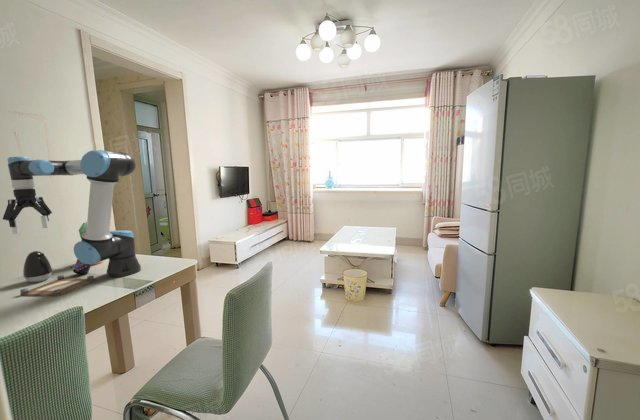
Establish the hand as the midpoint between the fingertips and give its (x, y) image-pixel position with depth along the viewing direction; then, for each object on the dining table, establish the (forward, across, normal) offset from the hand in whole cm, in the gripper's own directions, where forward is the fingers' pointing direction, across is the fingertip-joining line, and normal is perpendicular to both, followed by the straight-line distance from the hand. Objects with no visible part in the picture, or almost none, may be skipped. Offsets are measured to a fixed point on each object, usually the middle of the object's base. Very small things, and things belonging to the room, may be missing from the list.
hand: (31, 230), depth 140 cm
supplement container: (+26, -7, +18) cm, 32 cm away
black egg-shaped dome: (+25, +3, +3) cm, 26 cm away
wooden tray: (+26, +11, +23) cm, 36 cm away
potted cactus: (+25, -25, +6) cm, 36 cm away
